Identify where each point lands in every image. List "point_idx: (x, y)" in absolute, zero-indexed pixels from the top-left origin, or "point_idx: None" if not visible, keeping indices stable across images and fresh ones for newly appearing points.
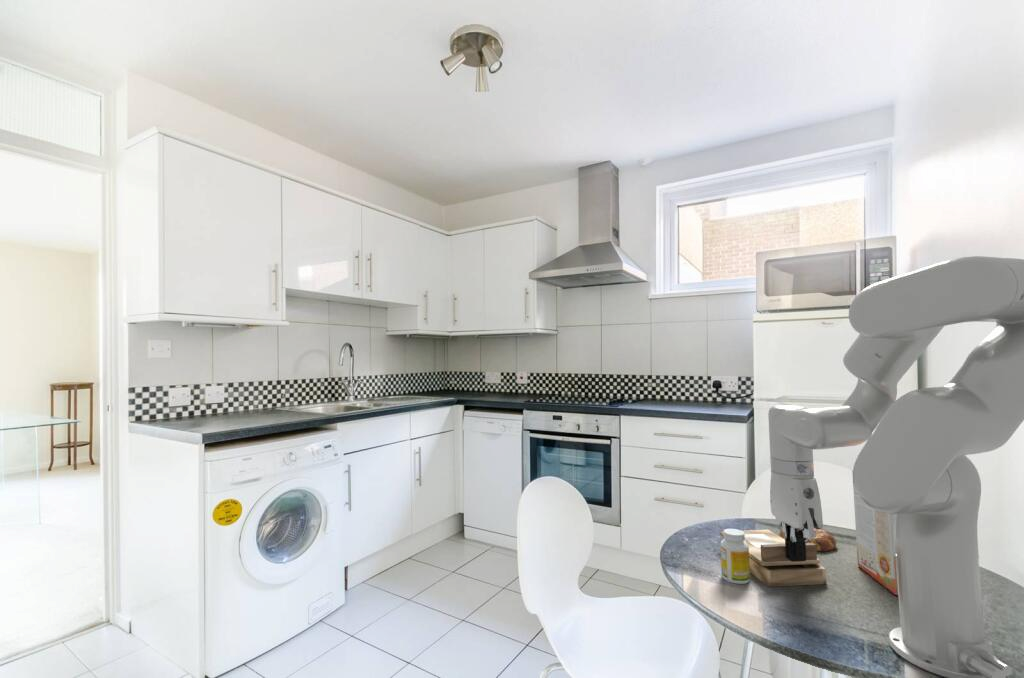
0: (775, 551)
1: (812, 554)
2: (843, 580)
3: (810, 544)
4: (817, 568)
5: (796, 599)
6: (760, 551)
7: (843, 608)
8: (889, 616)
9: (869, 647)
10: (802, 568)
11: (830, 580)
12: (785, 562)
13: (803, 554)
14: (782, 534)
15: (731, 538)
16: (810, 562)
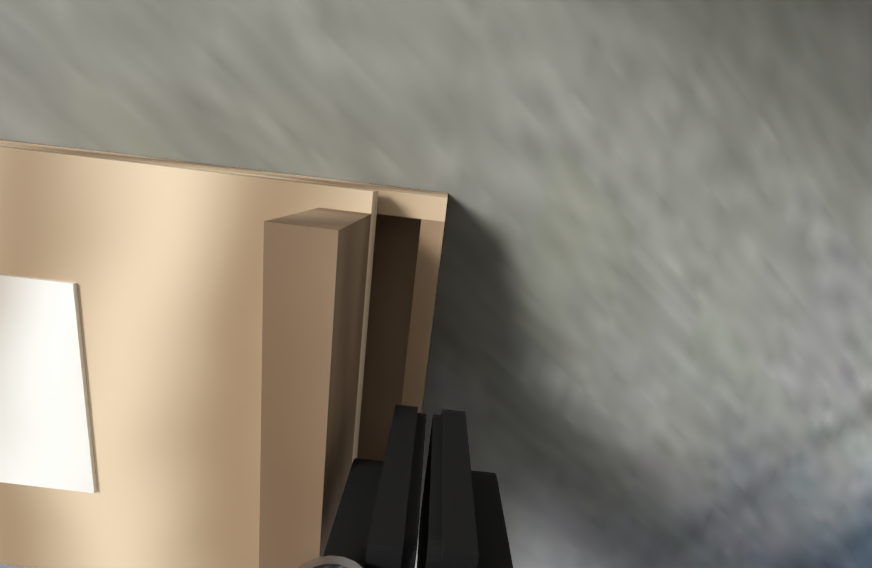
0: None
1: (358, 261)
2: (424, 32)
3: (317, 287)
4: (432, 256)
5: (556, 471)
6: (157, 505)
7: (702, 330)
8: (859, 167)
9: None
10: (408, 356)
11: (407, 123)
12: (353, 455)
13: (494, 493)
14: None
15: None
16: (369, 268)
